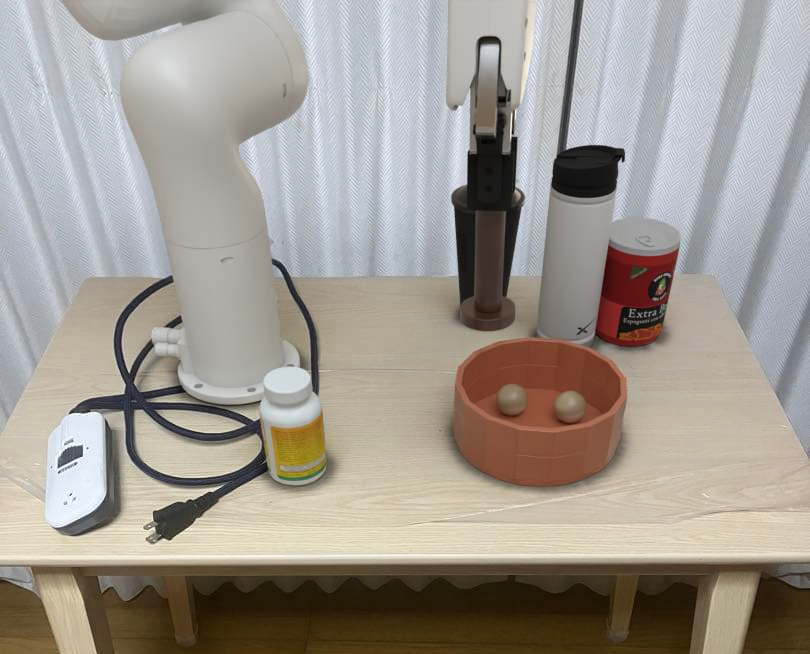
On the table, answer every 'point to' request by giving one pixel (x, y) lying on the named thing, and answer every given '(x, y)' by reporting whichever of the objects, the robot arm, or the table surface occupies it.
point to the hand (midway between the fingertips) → (491, 199)
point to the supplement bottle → (292, 427)
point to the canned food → (637, 280)
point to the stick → (488, 276)
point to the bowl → (538, 411)
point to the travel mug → (577, 241)
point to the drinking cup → (466, 240)
